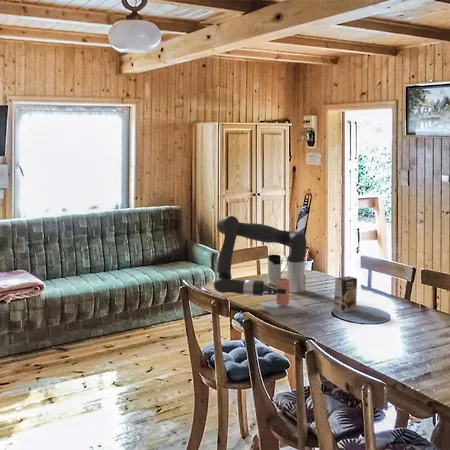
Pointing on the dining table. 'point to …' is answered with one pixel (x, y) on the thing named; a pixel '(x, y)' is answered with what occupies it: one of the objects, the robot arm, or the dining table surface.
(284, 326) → the dining table surface
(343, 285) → the coffee box
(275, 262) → the glass holder
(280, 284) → the sleeve
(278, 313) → the post board
